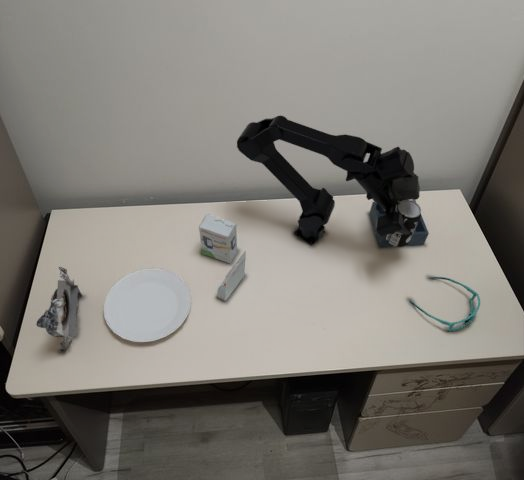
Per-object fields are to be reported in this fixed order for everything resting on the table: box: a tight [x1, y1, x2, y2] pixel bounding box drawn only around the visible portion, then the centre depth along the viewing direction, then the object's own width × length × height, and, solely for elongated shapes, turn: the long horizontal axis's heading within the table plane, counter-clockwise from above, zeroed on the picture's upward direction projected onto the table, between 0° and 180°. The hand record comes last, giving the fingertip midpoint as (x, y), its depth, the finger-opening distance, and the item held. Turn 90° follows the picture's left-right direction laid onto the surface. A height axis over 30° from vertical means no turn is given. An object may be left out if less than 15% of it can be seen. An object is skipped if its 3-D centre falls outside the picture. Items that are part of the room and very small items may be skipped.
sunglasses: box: [409, 276, 481, 332], centre depth 123 cm, size 14×15×5 cm
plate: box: [103, 267, 192, 343], centre depth 119 cm, size 21×21×2 cm
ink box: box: [198, 213, 238, 264], centre depth 127 cm, size 9×5×12 cm, turn 68°
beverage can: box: [385, 200, 422, 248], centre depth 124 cm, size 7×7×12 cm
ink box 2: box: [217, 250, 247, 302], centre depth 121 cm, size 3×9×12 cm, turn 150°
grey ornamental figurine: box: [35, 266, 83, 353], centre depth 112 cm, size 15×4×13 cm, turn 4°
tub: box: [368, 200, 430, 248], centre depth 138 cm, size 13×13×5 cm
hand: (408, 223), depth 123 cm, fingers closed on beverage can, 6 cm apart
